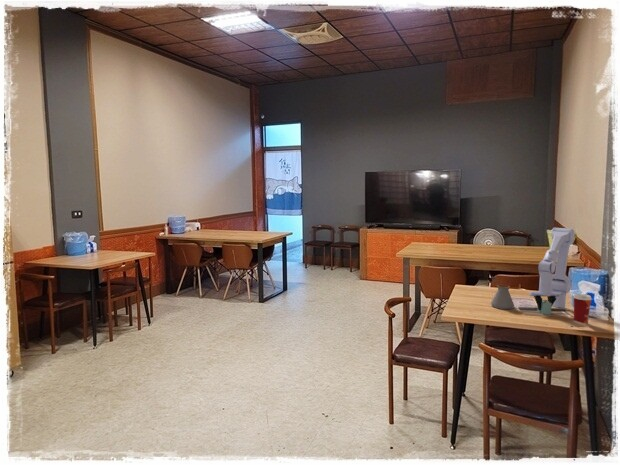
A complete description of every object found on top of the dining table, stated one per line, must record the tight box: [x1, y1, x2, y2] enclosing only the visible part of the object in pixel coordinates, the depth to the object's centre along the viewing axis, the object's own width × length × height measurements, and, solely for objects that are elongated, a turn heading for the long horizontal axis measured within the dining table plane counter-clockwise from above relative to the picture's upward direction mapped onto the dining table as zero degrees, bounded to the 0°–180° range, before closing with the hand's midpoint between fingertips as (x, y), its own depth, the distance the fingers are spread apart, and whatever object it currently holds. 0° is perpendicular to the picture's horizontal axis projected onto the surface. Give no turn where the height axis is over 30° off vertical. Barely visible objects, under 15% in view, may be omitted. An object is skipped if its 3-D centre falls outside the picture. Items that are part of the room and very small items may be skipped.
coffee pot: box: [490, 276, 515, 310], centre depth 236 cm, size 21×12×15 cm, turn 178°
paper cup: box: [572, 293, 593, 324], centre depth 208 cm, size 8×8×14 cm
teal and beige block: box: [536, 297, 552, 315], centre depth 221 cm, size 7×4×7 cm, turn 172°
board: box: [517, 306, 574, 318], centre depth 220 cm, size 11×23×3 cm, turn 82°
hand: (544, 310), depth 221 cm, fingers closed on teal and beige block, 4 cm apart
